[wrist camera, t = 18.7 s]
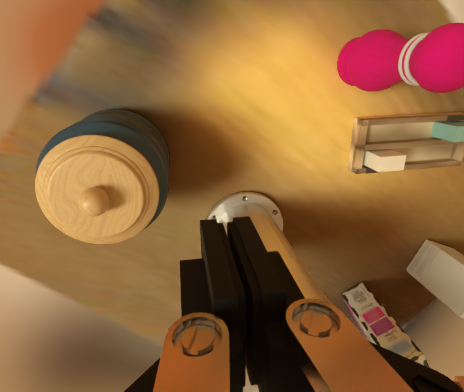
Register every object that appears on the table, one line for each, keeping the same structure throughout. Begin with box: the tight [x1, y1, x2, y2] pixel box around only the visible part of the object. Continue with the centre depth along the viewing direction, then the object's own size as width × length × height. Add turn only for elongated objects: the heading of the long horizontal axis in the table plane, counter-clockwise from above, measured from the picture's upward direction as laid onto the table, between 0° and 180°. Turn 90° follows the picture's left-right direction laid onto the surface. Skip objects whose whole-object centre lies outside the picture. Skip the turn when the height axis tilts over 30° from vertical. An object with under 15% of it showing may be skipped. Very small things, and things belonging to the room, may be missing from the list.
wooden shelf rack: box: [348, 112, 464, 174], centre depth 49 cm, size 8×18×3 cm, turn 91°
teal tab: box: [431, 121, 464, 142], centre depth 47 cm, size 2×4×4 cm, turn 92°
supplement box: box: [406, 239, 464, 318], centre depth 54 cm, size 7×7×13 cm
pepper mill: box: [337, 23, 464, 93], centre depth 35 cm, size 7×7×20 cm
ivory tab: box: [363, 149, 406, 172], centre depth 47 cm, size 2×4×4 cm, turn 91°
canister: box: [35, 109, 169, 244], centre depth 35 cm, size 13×13×18 cm
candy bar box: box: [341, 282, 429, 367], centre depth 54 cm, size 11×5×16 cm, turn 30°
